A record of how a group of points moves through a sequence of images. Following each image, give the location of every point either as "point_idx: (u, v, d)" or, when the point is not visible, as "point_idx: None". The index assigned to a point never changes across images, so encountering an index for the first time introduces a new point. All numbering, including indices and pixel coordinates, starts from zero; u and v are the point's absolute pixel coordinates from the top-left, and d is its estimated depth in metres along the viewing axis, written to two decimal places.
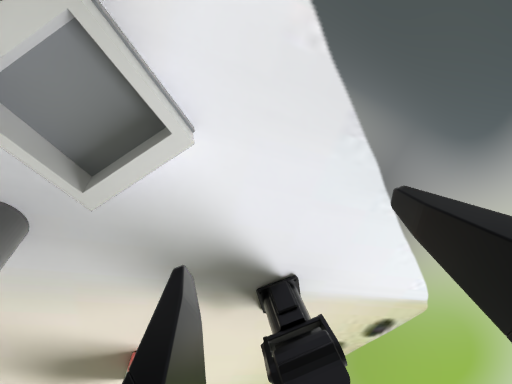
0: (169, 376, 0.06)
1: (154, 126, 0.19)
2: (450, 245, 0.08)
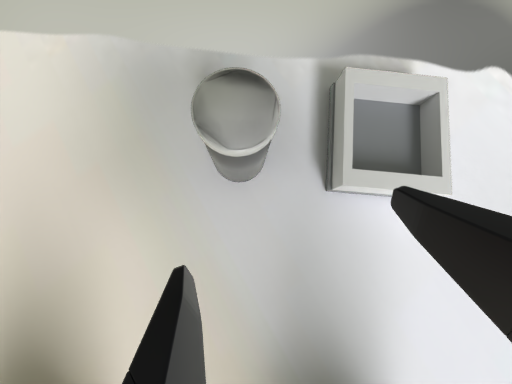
0: (169, 376, 0.06)
1: None
2: (450, 245, 0.08)
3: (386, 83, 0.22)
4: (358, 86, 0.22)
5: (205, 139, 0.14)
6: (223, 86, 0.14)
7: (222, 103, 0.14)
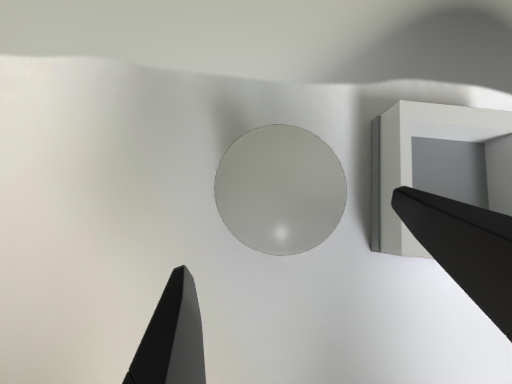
0: (169, 376, 0.06)
1: None
2: (450, 245, 0.08)
3: (451, 121, 0.17)
4: (415, 124, 0.18)
5: (236, 236, 0.09)
6: (261, 153, 0.10)
7: (260, 179, 0.09)
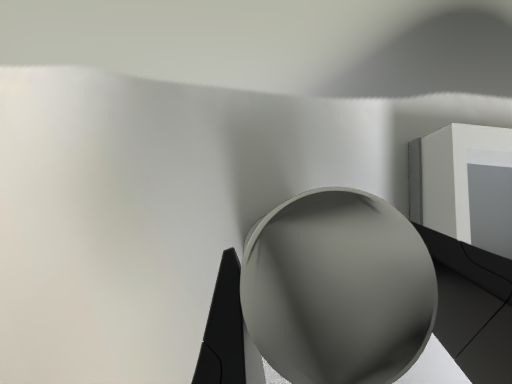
0: (244, 346, 0.06)
1: None
2: None
3: None
4: (469, 151, 0.15)
5: (274, 366, 0.06)
6: (309, 233, 0.06)
7: (309, 274, 0.06)
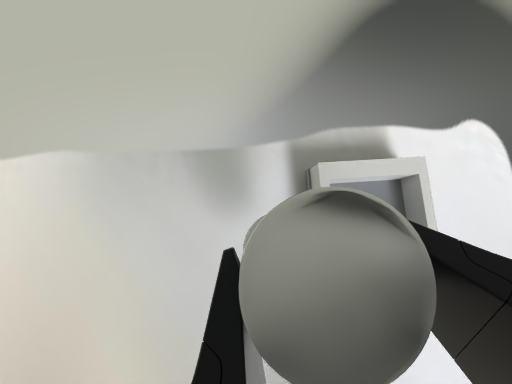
0: (244, 346, 0.06)
1: None
2: None
3: (362, 174, 0.21)
4: (334, 179, 0.21)
5: (273, 365, 0.06)
6: (308, 232, 0.06)
7: (308, 274, 0.06)
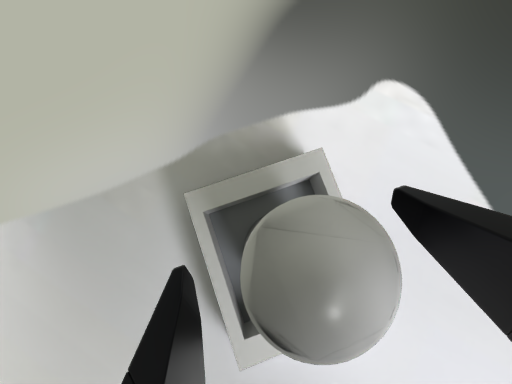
0: (168, 376, 0.06)
1: None
2: (450, 245, 0.08)
3: (246, 192, 0.15)
4: (214, 208, 0.16)
5: (268, 339, 0.07)
6: (297, 232, 0.08)
7: (297, 266, 0.08)
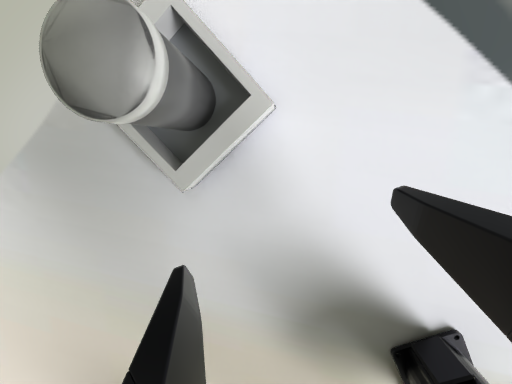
0: (169, 376, 0.06)
1: (238, 107, 0.20)
2: (450, 245, 0.08)
3: None
4: None
5: (88, 118, 0.11)
6: (66, 33, 0.10)
7: (79, 59, 0.10)
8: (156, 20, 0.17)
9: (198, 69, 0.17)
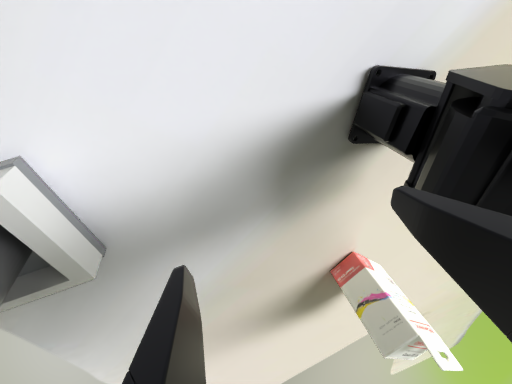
0: (169, 376, 0.06)
1: None
2: (450, 245, 0.08)
3: None
4: None
5: None
6: None
7: None
8: None
9: None
